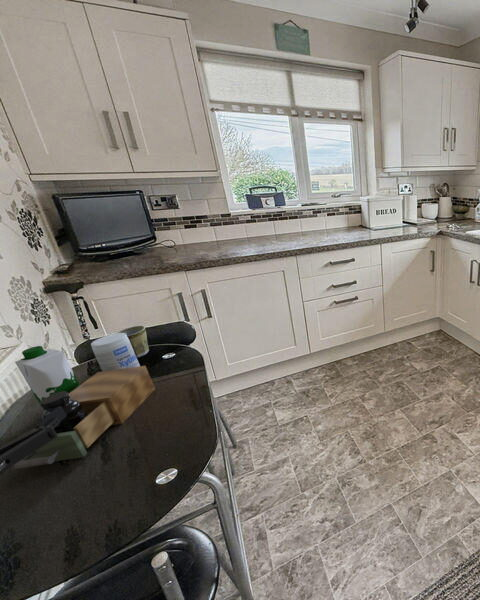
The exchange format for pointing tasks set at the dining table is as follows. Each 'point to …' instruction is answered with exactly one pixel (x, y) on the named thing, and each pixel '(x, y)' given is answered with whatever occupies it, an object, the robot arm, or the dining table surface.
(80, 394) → the cabinet
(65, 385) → the milk carton
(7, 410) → the dining table surface
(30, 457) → the drawer
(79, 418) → the supplement bottle
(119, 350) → the supplement tub
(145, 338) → the ceramic cup
